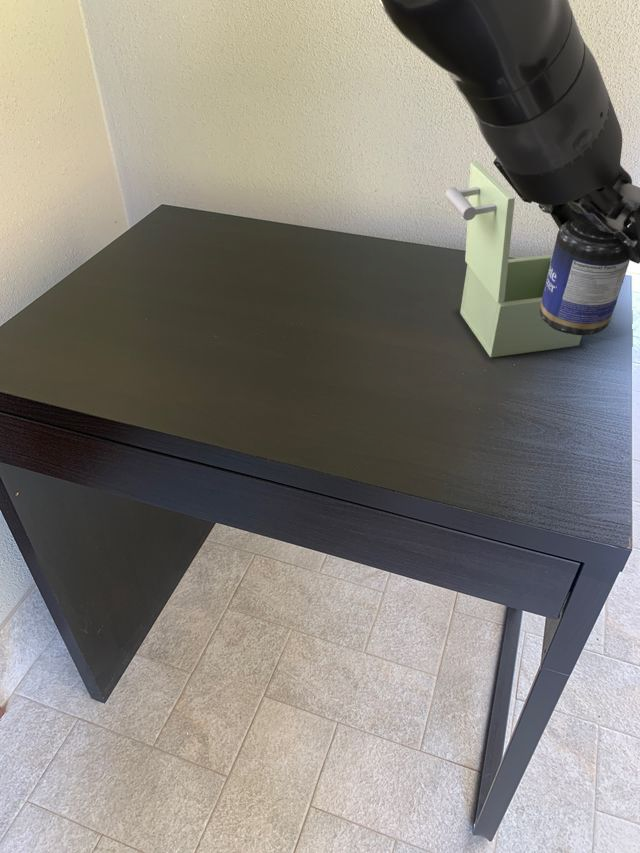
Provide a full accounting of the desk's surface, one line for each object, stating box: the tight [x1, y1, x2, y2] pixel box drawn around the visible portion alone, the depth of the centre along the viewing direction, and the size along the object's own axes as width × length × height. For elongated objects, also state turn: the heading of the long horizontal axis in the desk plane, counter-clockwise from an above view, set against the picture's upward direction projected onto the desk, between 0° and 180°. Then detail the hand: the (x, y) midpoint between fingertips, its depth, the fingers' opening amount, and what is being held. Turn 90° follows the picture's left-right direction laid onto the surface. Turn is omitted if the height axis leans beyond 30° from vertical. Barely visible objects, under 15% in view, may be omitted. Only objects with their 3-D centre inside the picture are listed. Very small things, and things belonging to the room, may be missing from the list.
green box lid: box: [445, 161, 516, 303], centre depth 85 cm, size 14×11×5 cm
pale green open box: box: [459, 253, 583, 358], centre depth 93 cm, size 13×11×8 cm
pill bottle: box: [540, 208, 632, 336], centre depth 58 cm, size 6×6×11 cm
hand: (606, 237), depth 57 cm, fingers closed on pill bottle, 6 cm apart
